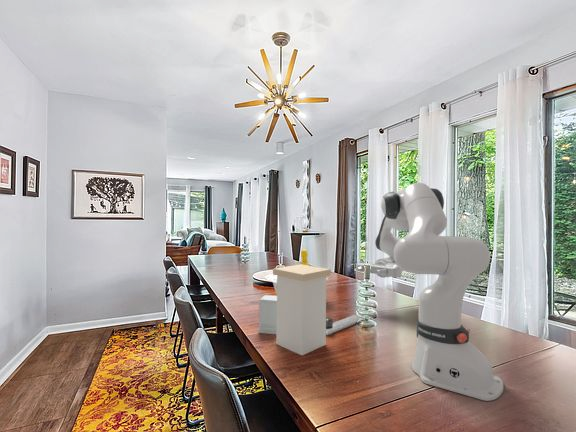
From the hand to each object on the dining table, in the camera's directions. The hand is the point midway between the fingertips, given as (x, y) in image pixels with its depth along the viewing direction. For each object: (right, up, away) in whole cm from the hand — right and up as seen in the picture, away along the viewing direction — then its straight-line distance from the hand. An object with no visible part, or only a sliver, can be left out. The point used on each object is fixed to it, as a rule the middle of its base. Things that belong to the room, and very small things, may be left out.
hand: (368, 270), depth 138 cm
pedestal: (-31, -20, -30) cm, 47 cm away
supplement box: (-42, -20, -17) cm, 50 cm away
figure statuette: (-23, -20, +62) cm, 69 cm away
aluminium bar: (-13, -20, -12) cm, 27 cm away
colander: (-31, -20, +22) cm, 43 cm away
